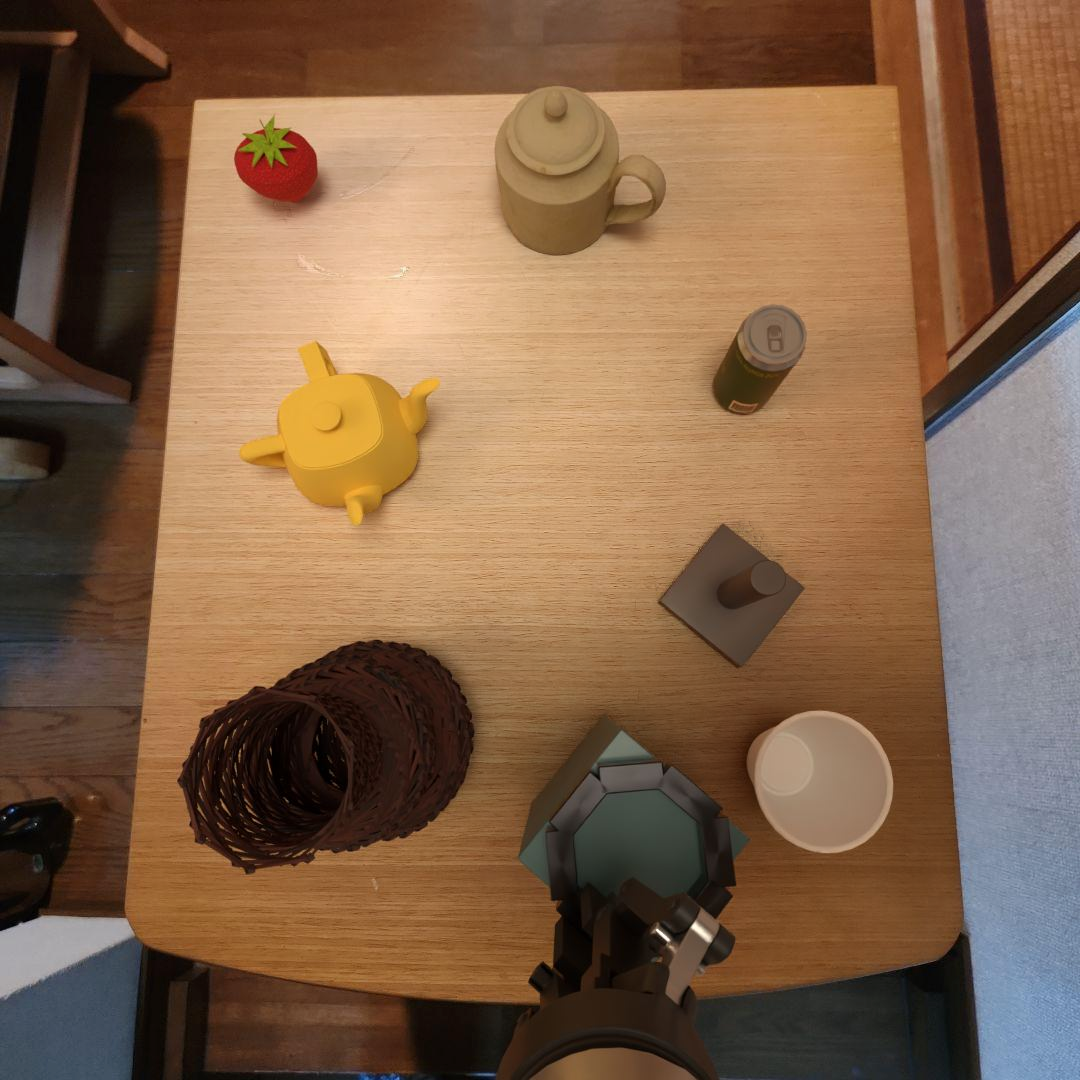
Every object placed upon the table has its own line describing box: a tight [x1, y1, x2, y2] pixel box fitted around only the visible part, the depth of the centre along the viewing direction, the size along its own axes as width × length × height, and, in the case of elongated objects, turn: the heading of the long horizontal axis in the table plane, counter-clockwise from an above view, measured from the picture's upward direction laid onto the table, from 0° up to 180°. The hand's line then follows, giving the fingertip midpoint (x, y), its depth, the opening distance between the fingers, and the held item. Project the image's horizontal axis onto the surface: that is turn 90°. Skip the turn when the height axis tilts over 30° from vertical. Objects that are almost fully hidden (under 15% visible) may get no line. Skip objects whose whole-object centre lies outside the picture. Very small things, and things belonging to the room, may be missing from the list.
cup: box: [746, 710, 894, 854], centre depth 61 cm, size 10×10×11 cm
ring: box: [546, 758, 737, 958], centre depth 45 cm, size 11×11×2 cm
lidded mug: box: [494, 85, 667, 256], centre depth 69 cm, size 15×11×15 cm
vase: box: [176, 639, 475, 875], centre depth 53 cm, size 15×15×30 cm
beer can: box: [712, 303, 808, 415], centre depth 66 cm, size 5×5×12 cm
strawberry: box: [233, 114, 319, 203], centre depth 72 cm, size 6×8×10 cm
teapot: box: [238, 340, 441, 526], centre depth 68 cm, size 14×13×10 cm
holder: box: [657, 523, 806, 669], centre depth 62 cm, size 9×9×14 cm
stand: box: [517, 713, 751, 962], centre depth 57 cm, size 10×10×20 cm
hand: (589, 919), depth 45 cm, fingers closed on ring, 2 cm apart
